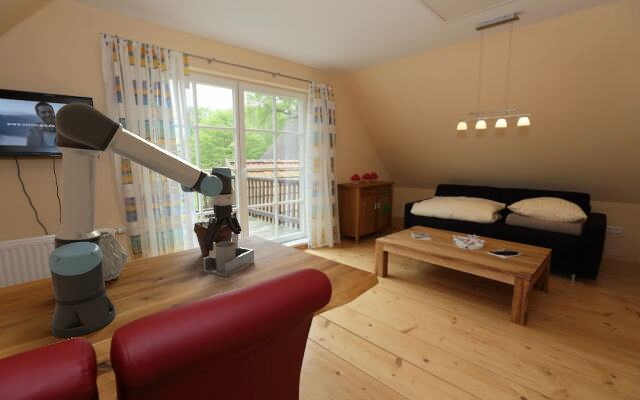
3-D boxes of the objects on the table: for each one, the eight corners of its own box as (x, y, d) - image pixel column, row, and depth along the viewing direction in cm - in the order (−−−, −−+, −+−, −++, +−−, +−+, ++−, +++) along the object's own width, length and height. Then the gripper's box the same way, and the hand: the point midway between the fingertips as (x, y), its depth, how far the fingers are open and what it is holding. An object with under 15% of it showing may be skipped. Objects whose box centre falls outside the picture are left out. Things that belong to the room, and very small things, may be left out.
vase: (89, 273, 125) (84, 230, 122) (134, 267, 131) (130, 226, 128) (74, 290, 110) (67, 241, 107) (125, 283, 116) (120, 237, 113)
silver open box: (227, 277, 122) (226, 263, 121) (204, 271, 127) (203, 258, 126) (254, 262, 138) (253, 249, 137) (232, 257, 143) (232, 245, 142)
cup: (211, 269, 127) (210, 246, 125) (223, 262, 135) (222, 240, 133) (229, 271, 125) (227, 248, 123) (239, 264, 132) (238, 242, 131)
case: (186, 259, 140) (184, 222, 137) (209, 246, 160) (207, 213, 157) (221, 262, 137) (220, 224, 134) (240, 248, 157) (239, 215, 154)
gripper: (207, 209, 112) (209, 263, 116) (248, 200, 135) (249, 245, 138) (192, 207, 115) (195, 260, 119) (235, 199, 138) (236, 243, 141)
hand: (224, 252), depth 129 cm, fingers open, 13 cm apart
